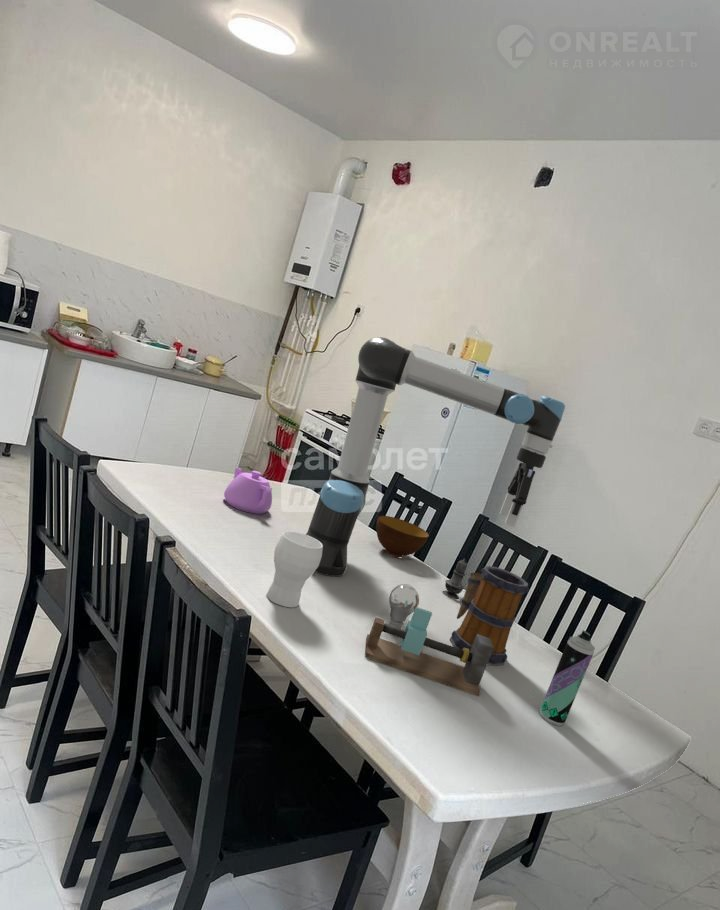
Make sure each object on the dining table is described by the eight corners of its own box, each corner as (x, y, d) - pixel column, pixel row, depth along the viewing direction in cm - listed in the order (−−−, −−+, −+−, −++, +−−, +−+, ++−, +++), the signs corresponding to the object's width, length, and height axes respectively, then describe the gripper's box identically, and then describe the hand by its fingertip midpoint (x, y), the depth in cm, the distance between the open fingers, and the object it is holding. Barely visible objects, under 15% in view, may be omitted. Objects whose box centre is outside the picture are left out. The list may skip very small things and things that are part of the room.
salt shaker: (459, 601, 202) (473, 564, 201) (440, 594, 203) (454, 556, 201) (460, 596, 208) (474, 559, 206) (442, 588, 209) (455, 552, 207)
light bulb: (409, 634, 164) (426, 588, 163) (402, 642, 158) (419, 595, 156) (382, 621, 166) (399, 576, 164) (374, 630, 160) (391, 582, 158)
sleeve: (401, 649, 146) (415, 610, 145) (400, 641, 150) (414, 603, 149) (419, 655, 146) (433, 617, 145) (418, 647, 150) (432, 609, 149)
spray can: (535, 707, 148) (569, 623, 145) (558, 714, 148) (593, 630, 146) (543, 722, 142) (579, 634, 139) (568, 728, 143) (604, 641, 140)
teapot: (282, 521, 222) (294, 486, 220) (241, 517, 212) (253, 480, 210) (248, 496, 238) (259, 463, 236) (209, 491, 227) (220, 457, 226)
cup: (312, 605, 162) (332, 546, 159) (290, 614, 152) (311, 552, 150) (275, 585, 165) (294, 528, 163) (251, 594, 156) (271, 532, 154)
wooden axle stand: (364, 657, 143) (380, 613, 142) (366, 637, 153) (380, 597, 152) (478, 695, 144) (495, 652, 142) (472, 674, 154) (488, 633, 152)
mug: (429, 622, 177) (456, 551, 174) (474, 629, 183) (501, 560, 180) (469, 663, 159) (499, 584, 157) (517, 669, 166) (547, 593, 163)
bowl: (360, 547, 223) (370, 518, 222) (378, 540, 240) (388, 513, 238) (409, 569, 217) (420, 540, 216) (424, 560, 234) (434, 533, 232)
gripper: (554, 460, 183) (525, 534, 186) (539, 450, 207) (513, 515, 210) (527, 451, 183) (498, 524, 186) (515, 442, 208) (490, 507, 211)
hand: (506, 520), depth 198 cm, fingers open, 13 cm apart
